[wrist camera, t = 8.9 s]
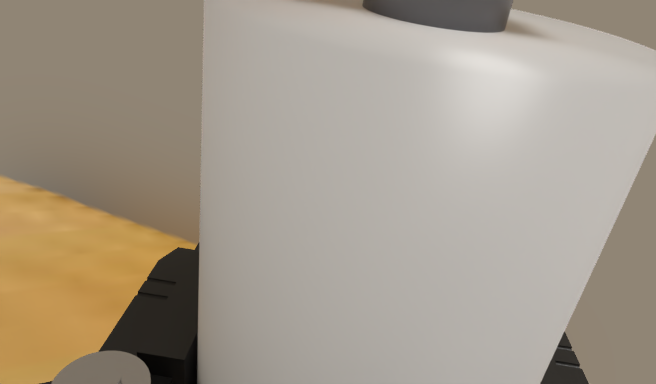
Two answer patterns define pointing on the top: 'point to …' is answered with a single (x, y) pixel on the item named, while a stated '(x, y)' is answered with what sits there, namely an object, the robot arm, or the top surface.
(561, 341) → the robot arm
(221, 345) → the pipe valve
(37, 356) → the top surface
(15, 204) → the top surface
